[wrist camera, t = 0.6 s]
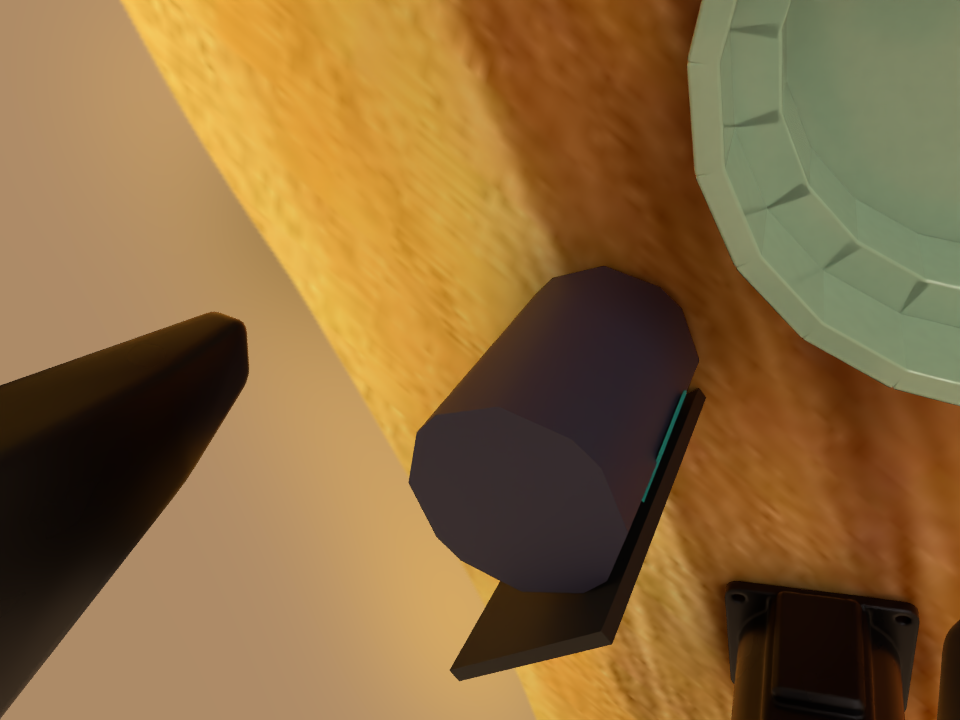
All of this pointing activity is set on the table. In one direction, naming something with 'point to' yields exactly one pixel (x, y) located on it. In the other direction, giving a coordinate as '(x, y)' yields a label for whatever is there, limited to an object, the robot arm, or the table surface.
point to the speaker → (561, 463)
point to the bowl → (839, 172)
